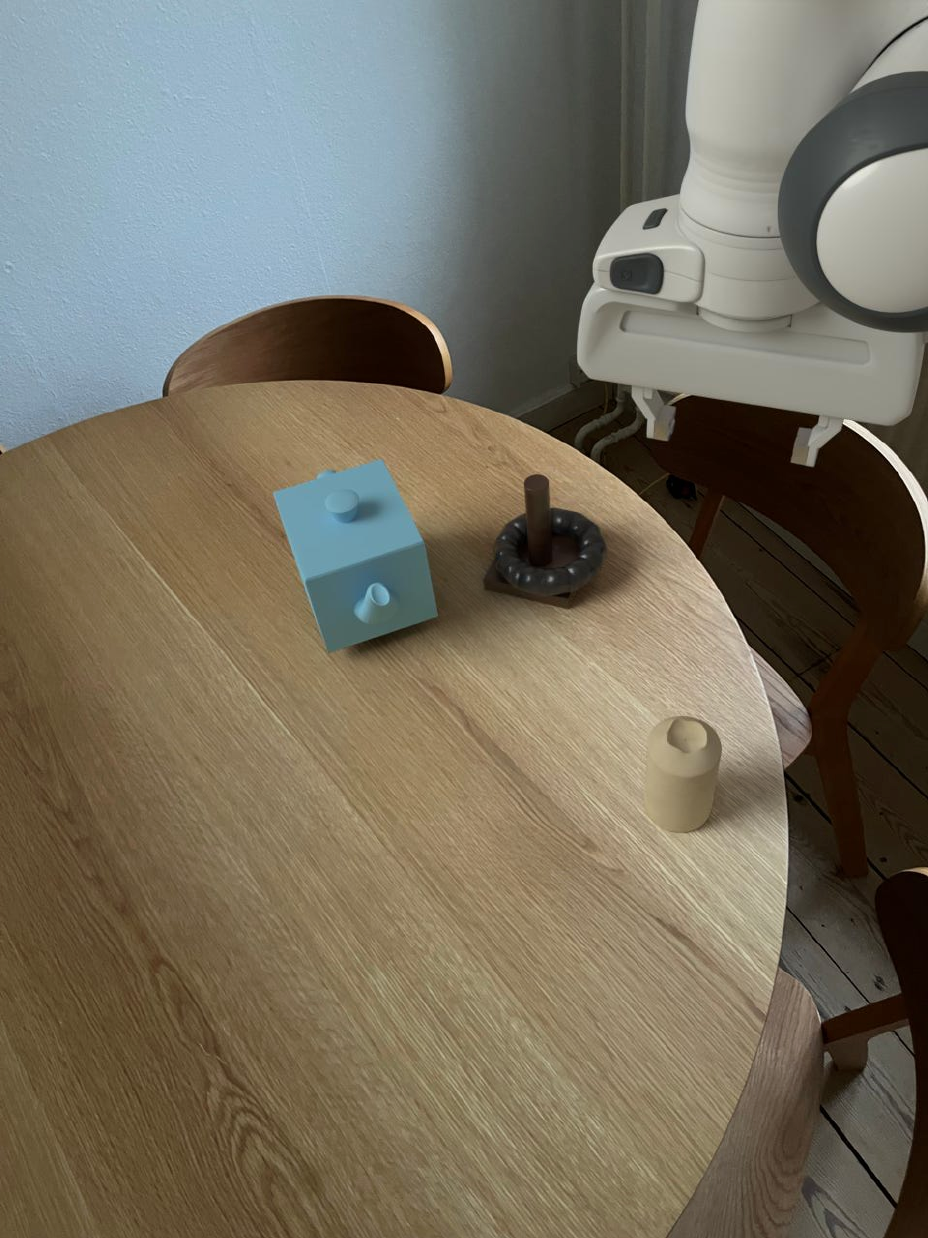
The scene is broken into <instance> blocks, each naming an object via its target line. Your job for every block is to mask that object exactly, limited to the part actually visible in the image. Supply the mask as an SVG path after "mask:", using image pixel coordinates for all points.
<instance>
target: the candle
mask: <svg viewBox="0 0 928 1238" xmlns="http://www.w3.org/2000/svg"><path fill="white" fill-rule="evenodd" d="M722 752H723V744H722V740H721V738H720V736H719V734H718V733H717V731H716V729H714V727H712V726H711V725H710V724H708V723H707V722H705V721H704V720H702V719H699V718H697V717H693V716H687V715H677V716H675V715H674V716H671V717H668V718H665V719H663V720H660V722H658V723H657V724H656V725H654V727H653V728H652V729H651V731H650V733H649V735H648V738H647V746H646V761H645V771H644V772H645V773H644V774H645V775H644V784H643V785H644V786H643V787H644V788H643V806H644V810H645V812H646V814H647V816H648V817H649V819H650V820H651V821H652V822H653V823H654V825H656V826H658V827H659V828H661V829H662V830H664V831H665V830H666V831H669V832H671V833H678V834H679V833H680V834H681V833H682V834H683V833H688V832H692V831H694V830H697V829H699V828H701V827H702V826H703V825H704V824H705V823H706V821H707V820H708V819H709V817H710V815H711V813H712V808H713V805H714V799H715V792H716V787H717V782H718V776H719V771H720V765H721V759H722V754H723V753H722Z"/></svg>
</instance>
